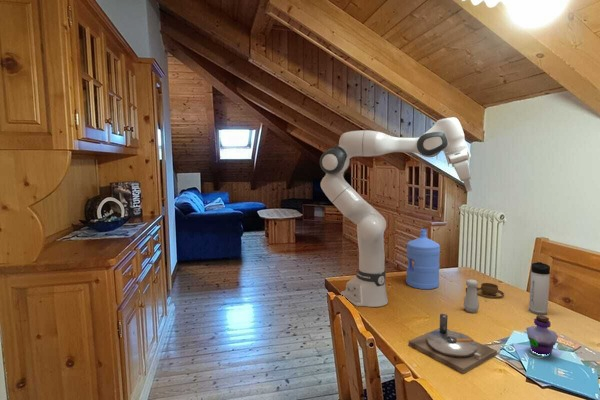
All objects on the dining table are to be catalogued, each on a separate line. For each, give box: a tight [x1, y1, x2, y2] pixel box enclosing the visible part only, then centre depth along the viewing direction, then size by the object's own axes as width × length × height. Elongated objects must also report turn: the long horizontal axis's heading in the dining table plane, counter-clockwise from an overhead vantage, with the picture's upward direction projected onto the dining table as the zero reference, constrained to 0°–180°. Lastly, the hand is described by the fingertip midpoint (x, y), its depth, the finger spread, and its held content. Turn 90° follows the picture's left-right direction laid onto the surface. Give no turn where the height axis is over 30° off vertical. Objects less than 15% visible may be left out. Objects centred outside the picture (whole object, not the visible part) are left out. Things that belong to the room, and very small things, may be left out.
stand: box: [408, 327, 498, 375], centre depth 117 cm, size 20×18×3 cm
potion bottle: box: [525, 314, 559, 355], centre depth 114 cm, size 9×9×12 cm
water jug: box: [405, 228, 441, 290], centre depth 178 cm, size 16×16×28 cm
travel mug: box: [528, 261, 551, 316], centre depth 144 cm, size 6×7×20 cm
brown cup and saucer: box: [465, 282, 505, 303], centre depth 165 cm, size 18×20×6 cm
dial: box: [427, 313, 477, 357], centre depth 116 cm, size 15×15×7 cm
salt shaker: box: [463, 278, 480, 314], centre depth 146 cm, size 6×6×13 cm
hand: (468, 190), depth 140 cm, fingers open, 8 cm apart
